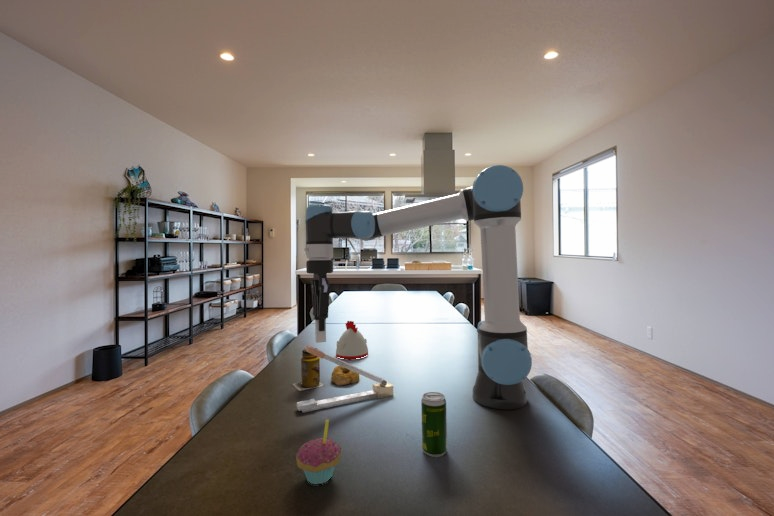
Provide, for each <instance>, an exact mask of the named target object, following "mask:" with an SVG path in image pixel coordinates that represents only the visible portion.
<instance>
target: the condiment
mask: <svg viewBox="0 0 774 516" xmlns="http://www.w3.org/2000/svg"><path fill="white" fill-rule="evenodd" d="M314 348H315V349H318V348H317V347H314ZM305 349H306V348H304V349H303V350H302V351H301V354H302V357H301V359H300V363H301V364H300V365H301V367H300V368H301V370H300V371H301V381H300V382H296V383H292V386H293V387H295V389H296V390H298V392H302V391H305V390H310V389H315V388H320V387H323V386H325V384H324V383H322V382H321V380H320V379H321V375H320V374H321V372H320V371H321V370H320V361H321V360H320V359H321V358H320V357H317V356H315V355H313V354H311V353H308V352H307V351H306V350H305ZM319 382H320V383H319ZM301 383H302V384H301ZM320 384H321V385H320ZM319 385H320V386H319Z"/></svg>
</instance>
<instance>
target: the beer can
mask: <svg viewBox="0 0 774 516" xmlns="http://www.w3.org/2000/svg"><path fill="white" fill-rule="evenodd" d="M421 395H422V398H421V400H420V401H421V402H420V404H421V447H422V448H421V449H422V452H423V453H424V454H425V455H426V454H427V455H426V456H428V455H429V456H428V457H430V456H431V458H441V457H443V456H445V455H446V452H447V450H448V446H447V445H448V437H447V436H448V435H447V434H448V431H447V430H448V429H447V428H448V427H447V426H448V425H447V424H448V423H447V421H448V420H447V400H446V396H445V394H444V393H442V392H438V391H427V392H425V393H423V394H421Z"/></svg>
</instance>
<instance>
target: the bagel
mask: <svg viewBox="0 0 774 516" xmlns="http://www.w3.org/2000/svg"><path fill="white" fill-rule="evenodd" d="M330 381H331V382H332V383H333V384H335V385H336V386H338V385H341V386H346V385H347V384H348V385H350V384H355V383H356V382H359V381H360V374H358V373H356V372H353V371H351V370H349V369H347V368H344V367H342V366H340V365H337V366H335V367H334V369H333V370H332V372H331V378H330ZM348 385H347V386H348Z"/></svg>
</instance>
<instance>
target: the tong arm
mask: <svg viewBox="0 0 774 516" xmlns="http://www.w3.org/2000/svg"><path fill="white" fill-rule="evenodd" d="M315 348H316V347H313V346H311V345H308V344H307V345H306V347H305V348H304V349H305V350H306V351H307V352H308V353H311V354H313V355H315V356H317V357H319V359H322V360H323V359H324V360H326V361H329V362H331V363H333V364H336V365H337V366H339V365H340V366H342V367H344V368H347V369H349V370H351V371H353V372H356V373H358V374H359V376H363V377H365V378H368V379H370V380H372V381H374V382H376V383H381V384H383V385H384V386H385V385H387V382H388V381H387V380H385V379H384V378H382V377H379V376H378V375H376V374H373V373H370V372H368V371H367V370H364V369H362V368H359V367H358V366H355V365H353V364H352V363H349V362H346V361H345V360H341V359H338V358H337V357H336V356H333V355H331V354H328V353H326V352H324V351H322V350H320V349H318V348H317V349H315Z"/></svg>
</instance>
